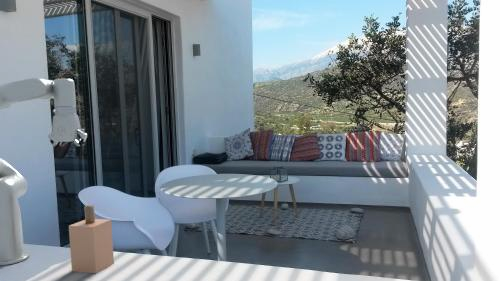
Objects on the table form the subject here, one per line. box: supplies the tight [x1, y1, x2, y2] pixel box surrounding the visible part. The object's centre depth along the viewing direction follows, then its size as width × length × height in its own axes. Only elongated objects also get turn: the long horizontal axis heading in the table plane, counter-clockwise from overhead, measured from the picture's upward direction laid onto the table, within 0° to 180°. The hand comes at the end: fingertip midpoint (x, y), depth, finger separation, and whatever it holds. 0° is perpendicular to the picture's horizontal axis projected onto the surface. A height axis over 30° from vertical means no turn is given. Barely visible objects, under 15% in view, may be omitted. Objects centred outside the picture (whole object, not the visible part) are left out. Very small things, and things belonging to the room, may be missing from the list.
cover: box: [68, 204, 115, 274], centre depth 154 cm, size 10×10×22 cm
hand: (69, 156), depth 167 cm, fingers open, 9 cm apart
